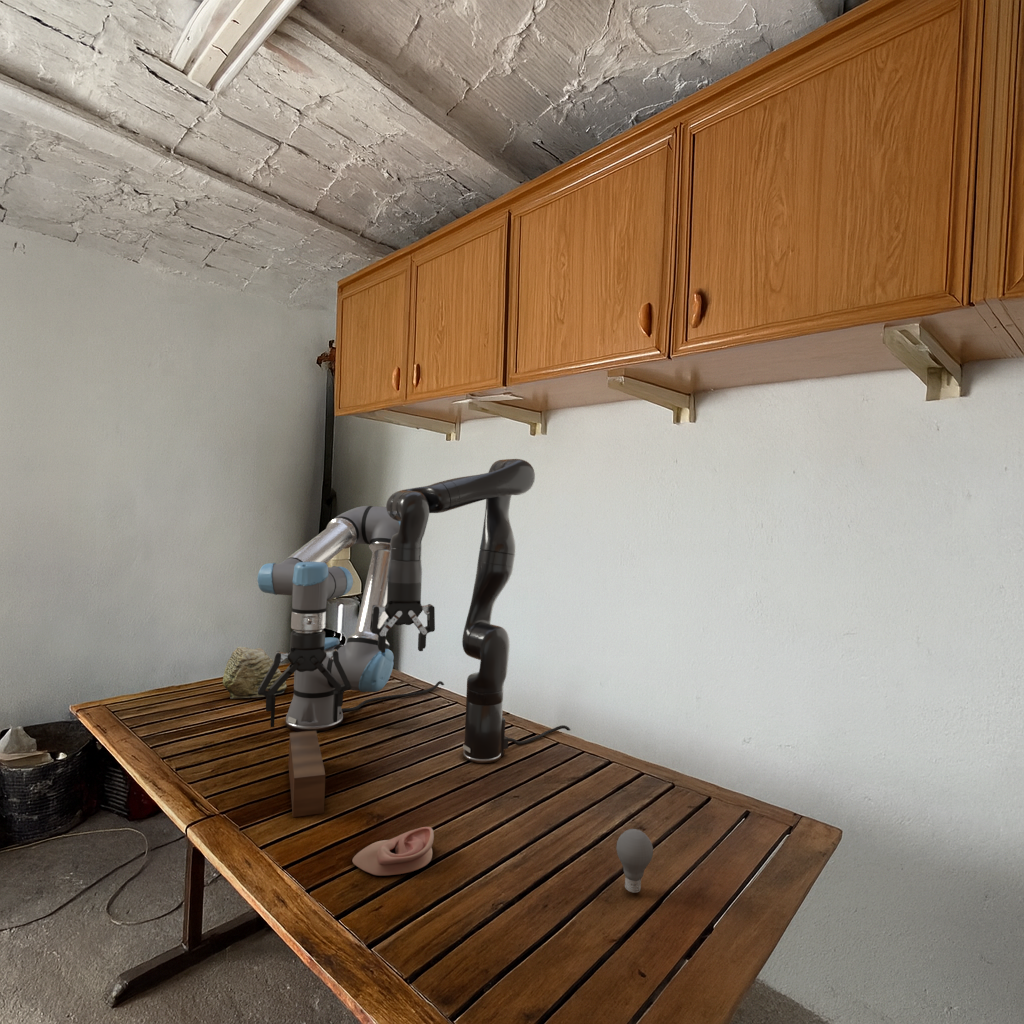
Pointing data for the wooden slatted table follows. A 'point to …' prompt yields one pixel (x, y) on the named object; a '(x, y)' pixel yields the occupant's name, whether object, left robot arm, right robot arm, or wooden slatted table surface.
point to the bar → (306, 774)
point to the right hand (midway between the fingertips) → (401, 651)
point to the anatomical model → (397, 853)
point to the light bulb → (634, 857)
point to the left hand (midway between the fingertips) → (304, 722)
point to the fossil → (248, 673)
